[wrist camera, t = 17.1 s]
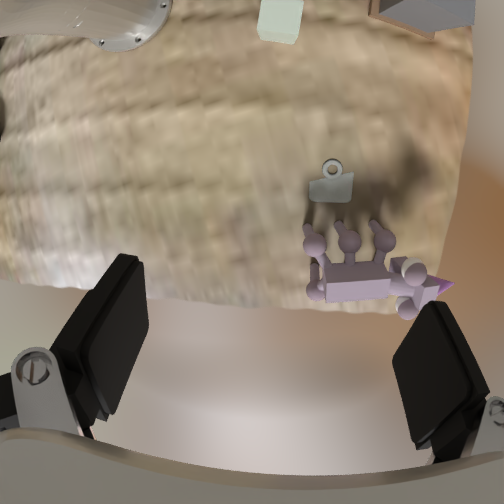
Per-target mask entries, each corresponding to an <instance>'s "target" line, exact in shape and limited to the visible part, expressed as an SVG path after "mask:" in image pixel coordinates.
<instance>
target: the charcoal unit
mask: <svg viewBox="0 0 504 504" xmlns="http://www.w3.org/2000/svg"><path fill="white" fill-rule="evenodd" d="M368 16H369V17H373V18H376V19H379V20H382V21H385V22H388V23H390V24H393V25H396V26H399V27H401V28H404V29H406V30H409V31H411V32H414V33H416V34H419V35H421V36H423V37H426V38H428V39H430V40H431V39H434V35H435V31H441V30H446V29H452V28H457V27H464V26H471V25H474V17H475V0H371V1H370V8H369V15H368Z"/></svg>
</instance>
